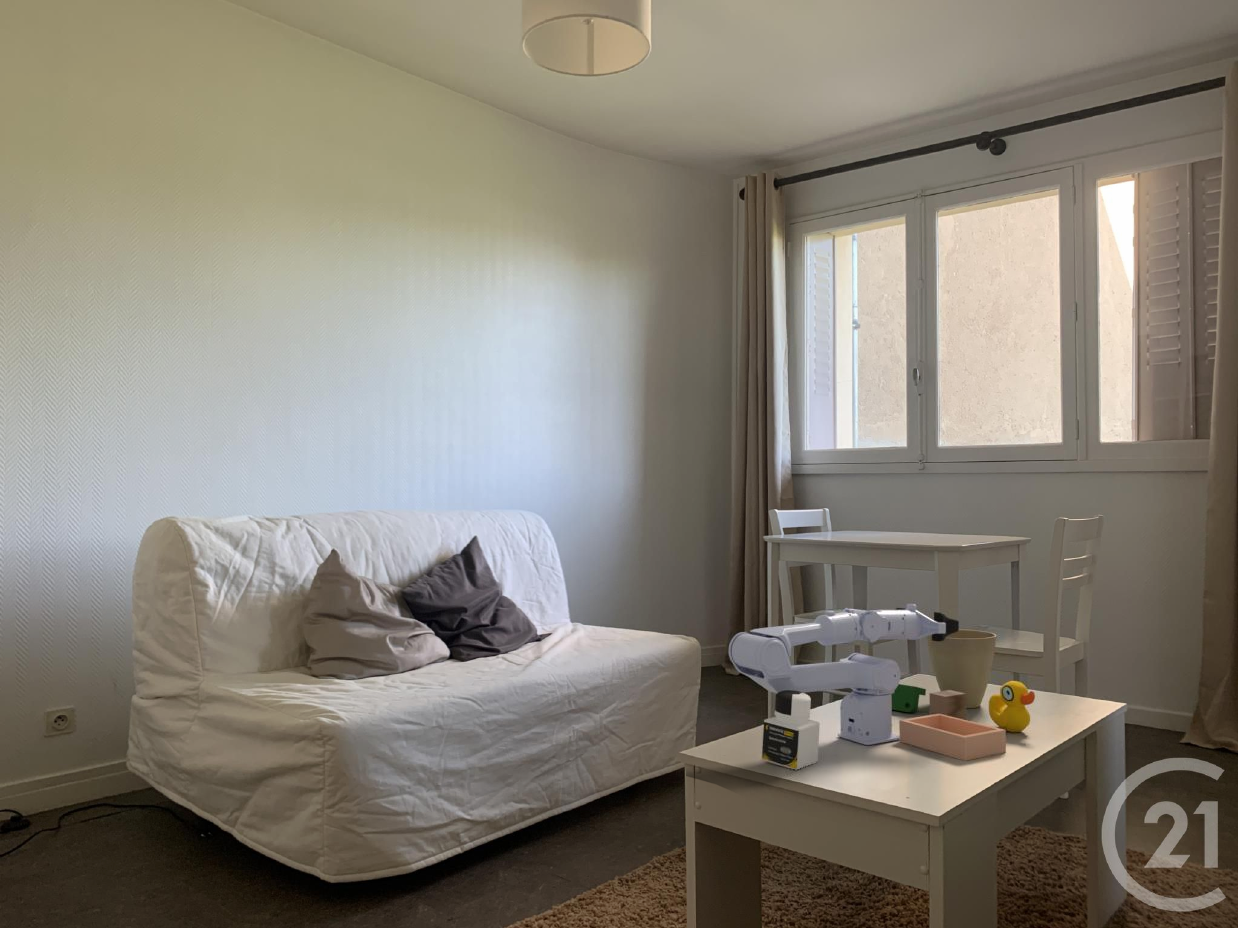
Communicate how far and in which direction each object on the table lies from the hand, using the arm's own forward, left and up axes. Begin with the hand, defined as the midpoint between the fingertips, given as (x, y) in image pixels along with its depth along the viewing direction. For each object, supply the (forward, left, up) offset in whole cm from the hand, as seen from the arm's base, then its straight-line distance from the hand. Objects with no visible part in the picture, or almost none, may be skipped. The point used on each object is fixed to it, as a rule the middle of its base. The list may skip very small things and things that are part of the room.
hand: (941, 623), depth 187 cm
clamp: (+4, +16, -21) cm, 27 cm away
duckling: (+8, -10, -21) cm, 24 cm away
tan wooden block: (-1, -2, -21) cm, 21 cm away
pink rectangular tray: (-12, -12, -21) cm, 26 cm away
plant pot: (+19, +11, -21) cm, 30 cm away
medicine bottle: (-45, -5, -21) cm, 50 cm away
